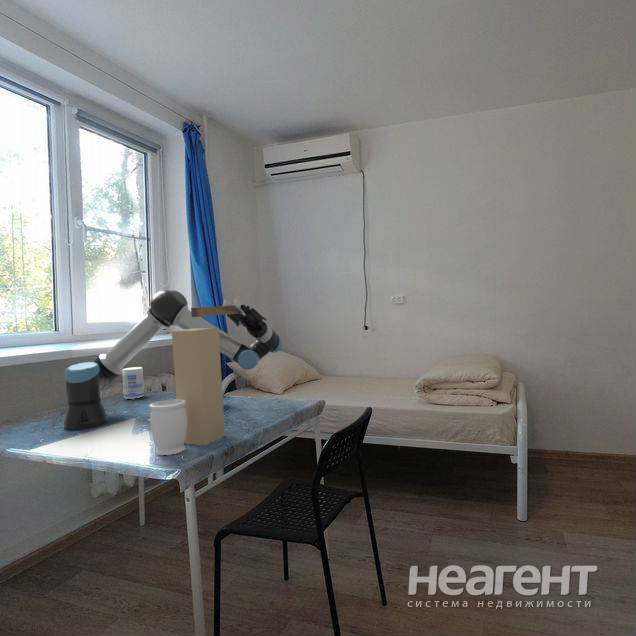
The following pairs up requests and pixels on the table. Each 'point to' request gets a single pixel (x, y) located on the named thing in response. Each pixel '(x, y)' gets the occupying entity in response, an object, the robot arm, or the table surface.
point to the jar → (168, 426)
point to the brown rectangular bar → (214, 311)
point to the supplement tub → (133, 382)
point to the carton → (199, 383)
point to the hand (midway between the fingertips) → (229, 302)
